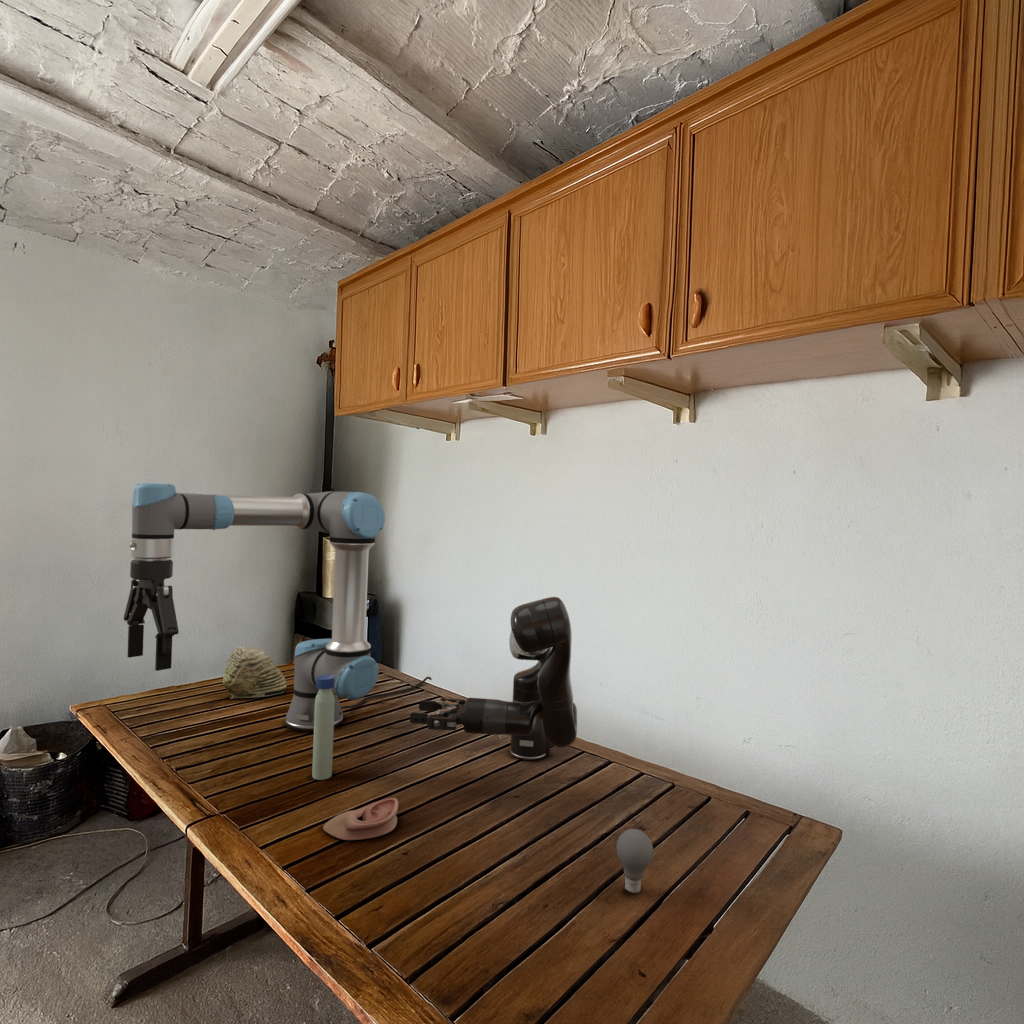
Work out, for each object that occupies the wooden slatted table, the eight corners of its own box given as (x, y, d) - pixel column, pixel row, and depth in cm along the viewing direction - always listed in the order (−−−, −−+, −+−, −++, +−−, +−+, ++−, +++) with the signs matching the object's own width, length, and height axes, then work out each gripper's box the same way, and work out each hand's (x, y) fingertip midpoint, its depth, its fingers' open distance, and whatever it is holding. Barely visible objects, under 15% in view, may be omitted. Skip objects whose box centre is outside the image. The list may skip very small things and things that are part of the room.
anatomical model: (315, 814, 118) (343, 787, 129) (314, 835, 118) (343, 807, 129) (382, 825, 115) (405, 796, 127) (381, 846, 116) (404, 816, 127)
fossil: (218, 695, 195) (220, 647, 195) (278, 685, 208) (279, 640, 207) (228, 703, 189) (230, 653, 188) (289, 692, 201) (290, 645, 201)
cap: (312, 687, 143) (312, 677, 143) (325, 683, 146) (326, 673, 146) (325, 690, 141) (325, 680, 141) (338, 686, 144) (338, 676, 144)
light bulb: (610, 879, 108) (613, 822, 108) (644, 879, 109) (647, 822, 109) (619, 902, 102) (622, 840, 102) (655, 901, 103) (658, 840, 103)
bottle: (307, 776, 143) (311, 679, 143) (322, 770, 147) (326, 675, 146) (321, 781, 141) (325, 682, 140) (335, 774, 145) (339, 678, 144)
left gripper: (108, 554, 134) (104, 654, 134) (159, 565, 118) (155, 678, 119) (146, 552, 140) (143, 648, 140) (199, 563, 124) (195, 671, 124)
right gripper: (491, 690, 148) (422, 685, 149) (483, 709, 133) (407, 704, 135) (489, 722, 148) (421, 717, 149) (482, 745, 133) (406, 739, 135)
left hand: (148, 662), depth 129 cm, fingers open, 13 cm apart
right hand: (415, 711), depth 142 cm, fingers open, 8 cm apart
